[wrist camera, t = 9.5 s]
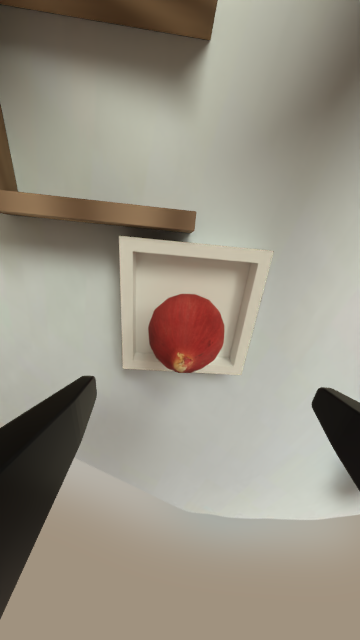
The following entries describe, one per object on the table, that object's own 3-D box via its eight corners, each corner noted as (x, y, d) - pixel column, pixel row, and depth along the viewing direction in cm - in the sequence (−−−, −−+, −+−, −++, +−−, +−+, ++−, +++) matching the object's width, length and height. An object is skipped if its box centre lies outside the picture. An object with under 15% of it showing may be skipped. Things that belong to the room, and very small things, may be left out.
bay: (213, 11, 11) (232, -102, 8) (190, 233, 16) (195, 229, 12) (-50, -37, 10) (-174, -193, 7) (7, 214, 15) (-48, 204, 11)
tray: (261, 250, 17) (273, 251, 15) (234, 361, 21) (241, 375, 19) (126, 236, 16) (118, 235, 14) (128, 355, 20) (122, 368, 18)
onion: (216, 337, 19) (226, 409, 12) (160, 334, 19) (137, 401, 12) (223, 281, 16) (240, 332, 9) (157, 280, 16) (124, 326, 10)
